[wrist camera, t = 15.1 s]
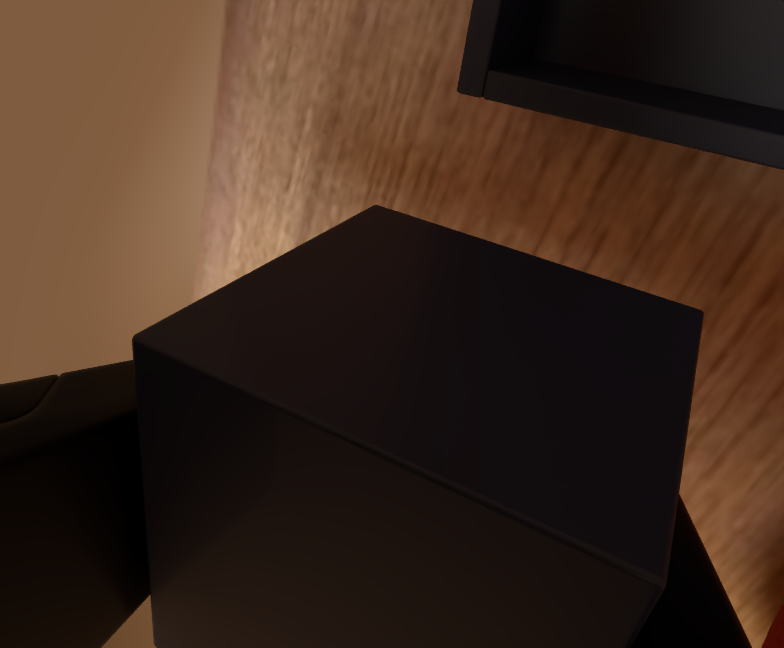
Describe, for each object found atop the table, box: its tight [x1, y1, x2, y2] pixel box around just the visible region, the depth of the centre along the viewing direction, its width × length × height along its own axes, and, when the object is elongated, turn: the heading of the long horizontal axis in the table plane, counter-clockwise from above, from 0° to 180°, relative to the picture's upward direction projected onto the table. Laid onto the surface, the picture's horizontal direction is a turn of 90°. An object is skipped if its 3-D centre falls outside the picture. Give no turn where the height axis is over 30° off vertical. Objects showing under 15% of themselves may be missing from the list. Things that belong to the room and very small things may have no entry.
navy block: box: [132, 205, 704, 648], centre depth 8 cm, size 4×4×4 cm
